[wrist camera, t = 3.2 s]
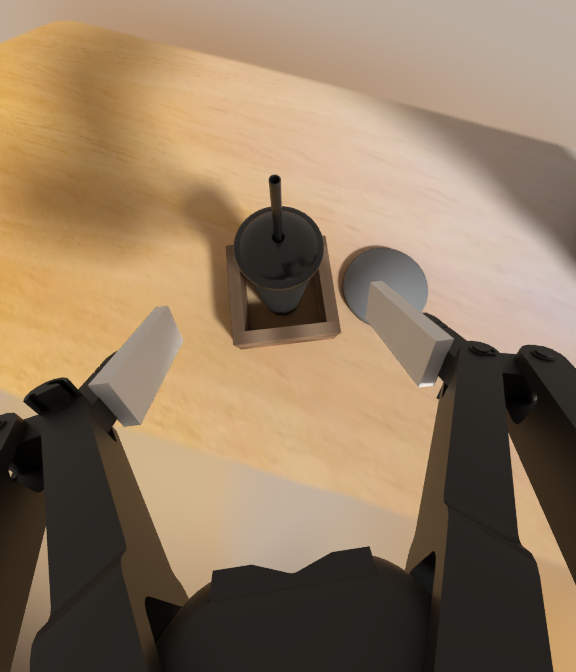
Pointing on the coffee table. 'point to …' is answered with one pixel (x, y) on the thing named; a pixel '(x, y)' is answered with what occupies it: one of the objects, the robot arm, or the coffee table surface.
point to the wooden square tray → (282, 335)
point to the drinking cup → (279, 252)
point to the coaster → (384, 279)
